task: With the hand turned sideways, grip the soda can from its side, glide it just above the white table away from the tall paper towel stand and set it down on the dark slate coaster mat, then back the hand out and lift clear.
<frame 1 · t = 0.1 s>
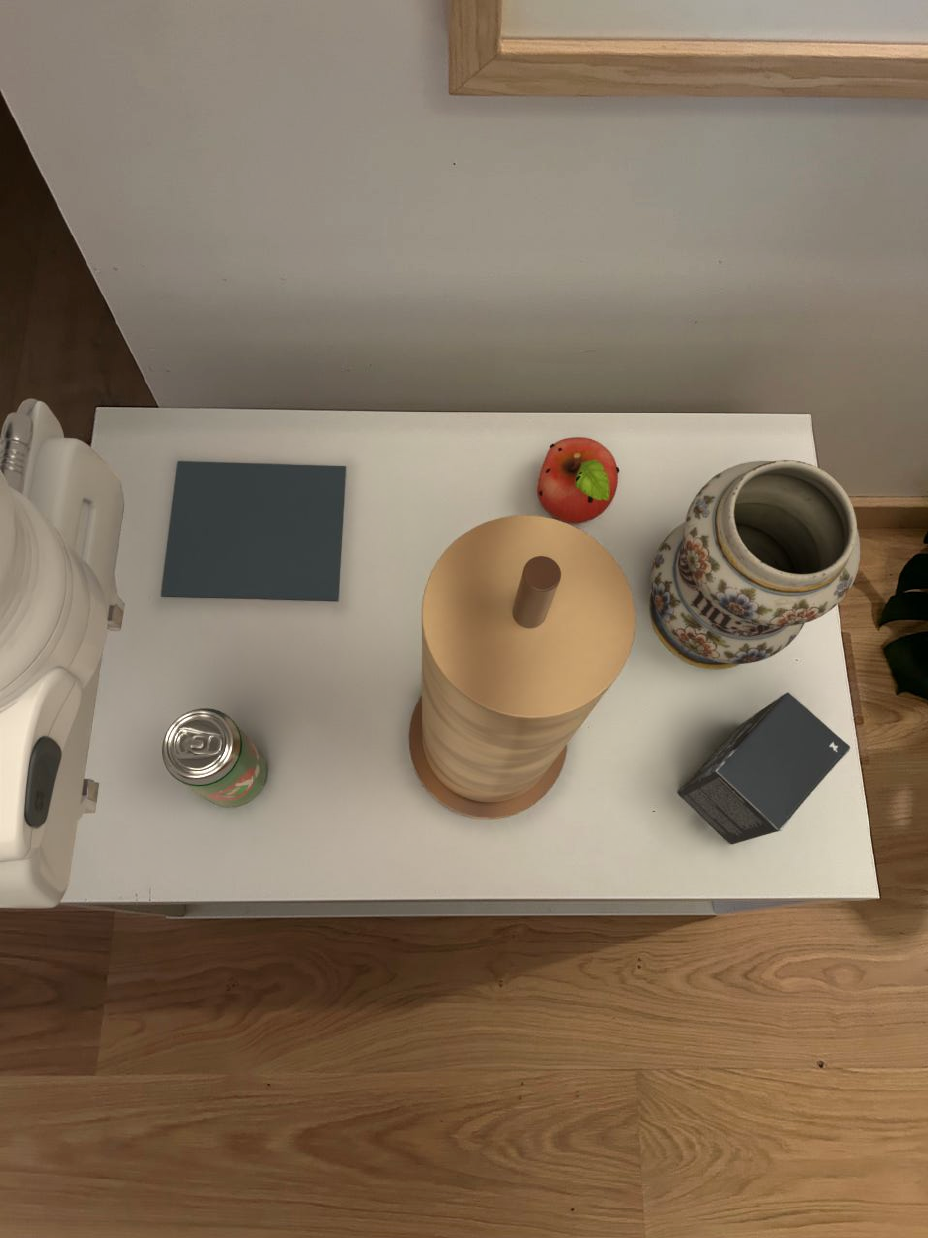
hand: (95, 705, 48), 24 cm above the table, tool pointing down, fingers open, 8 cm apart
soda can: (234, 775, 71), on the table
towel stand: (487, 740, 72), on the table
apothecary jar: (708, 611, 76), on the table
apple: (571, 507, 79), on the table
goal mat: (256, 530, 77), on the table
box: (734, 784, 72), on the table
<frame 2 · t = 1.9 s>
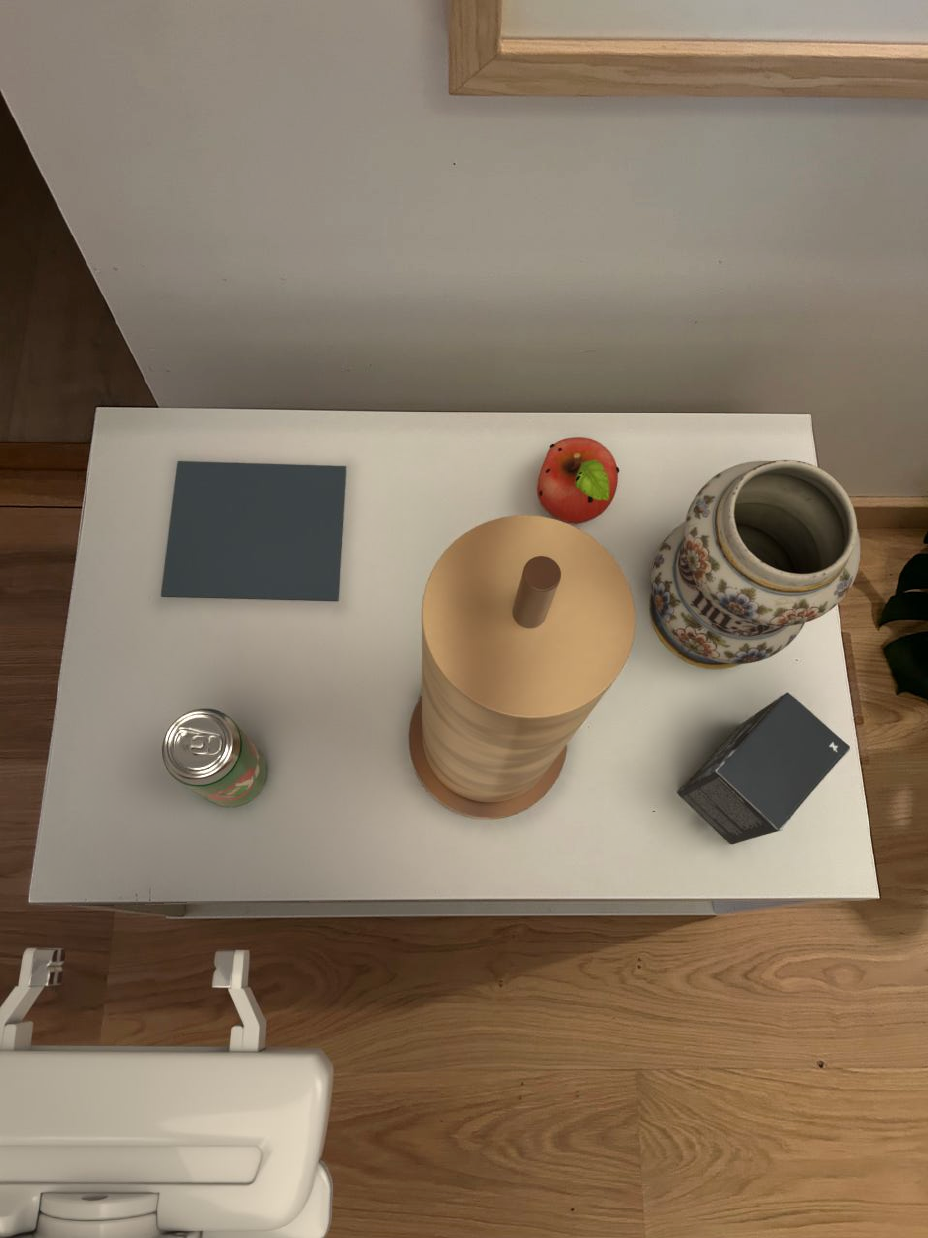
hand: (139, 948, 48), 20 cm above the table, tool horizontal, fingers open, 8 cm apart
nothing on the table moved.
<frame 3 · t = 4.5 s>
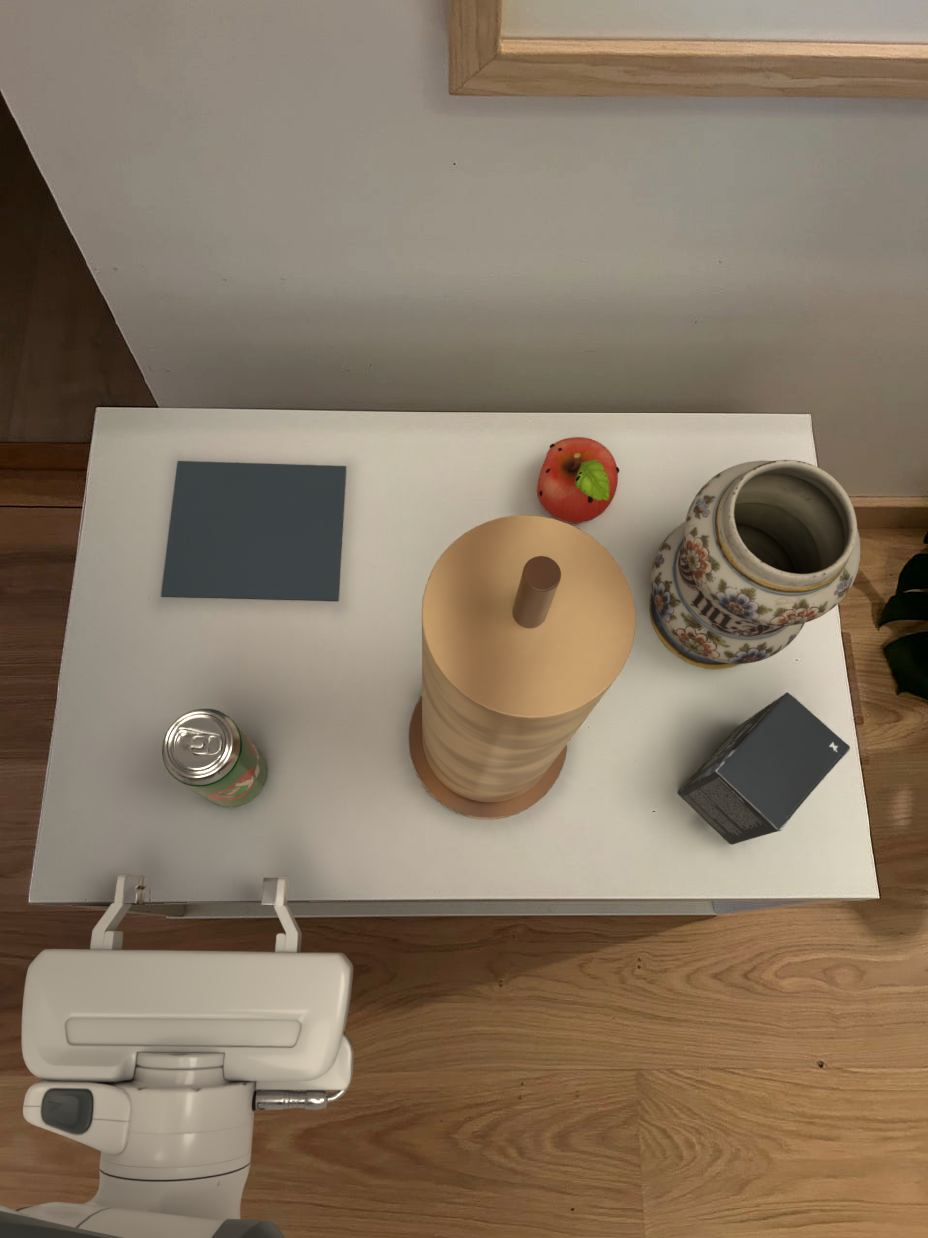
hand: (204, 876, 62), 6 cm above the table, tool horizontal, fingers open, 8 cm apart
nothing on the table moved.
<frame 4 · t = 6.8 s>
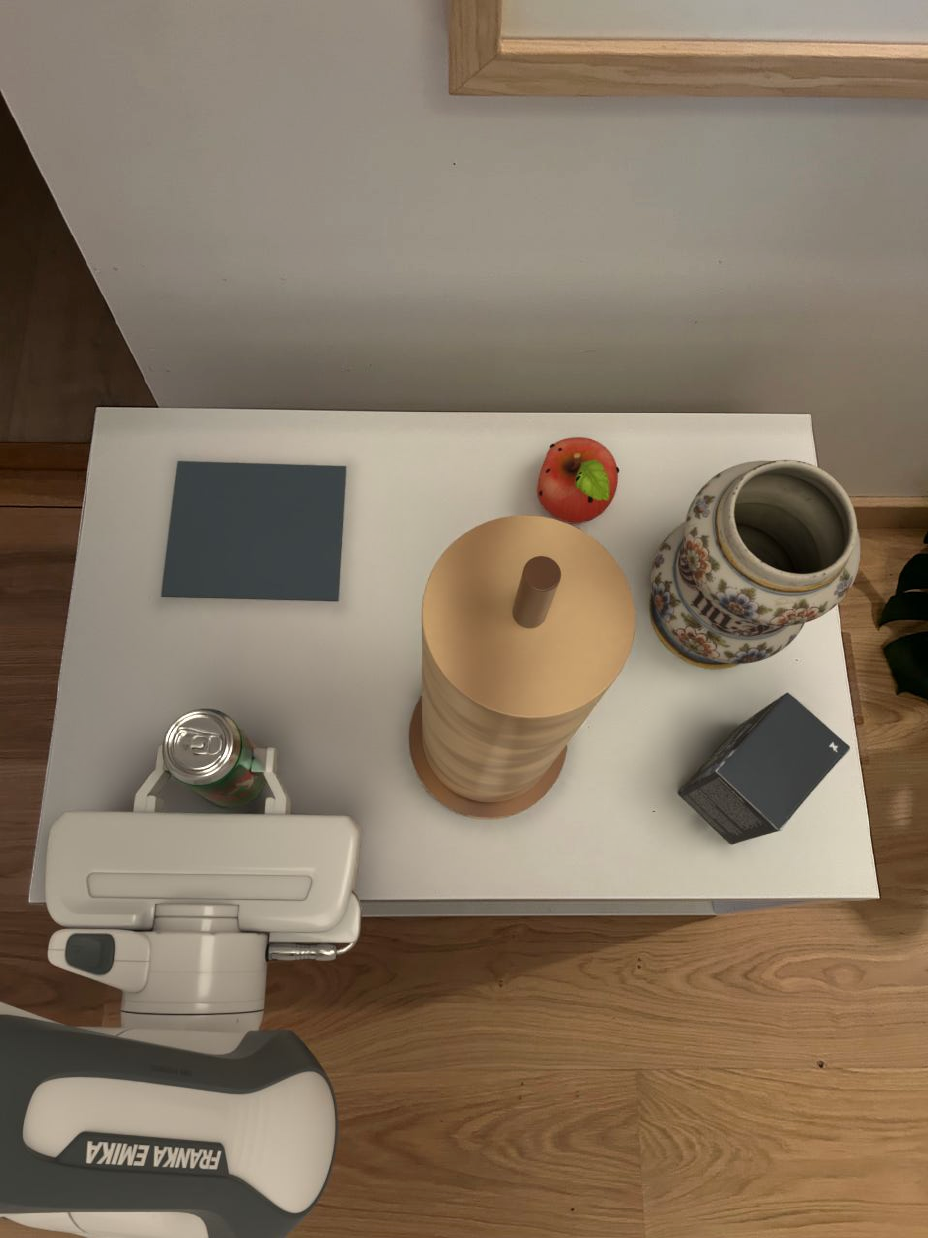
hand: (218, 747, 65), 6 cm above the table, tool horizontal, fingers closed on soda can, 5 cm apart
soda can: (234, 775, 71), on the table, touching gripper
everything else where it was.
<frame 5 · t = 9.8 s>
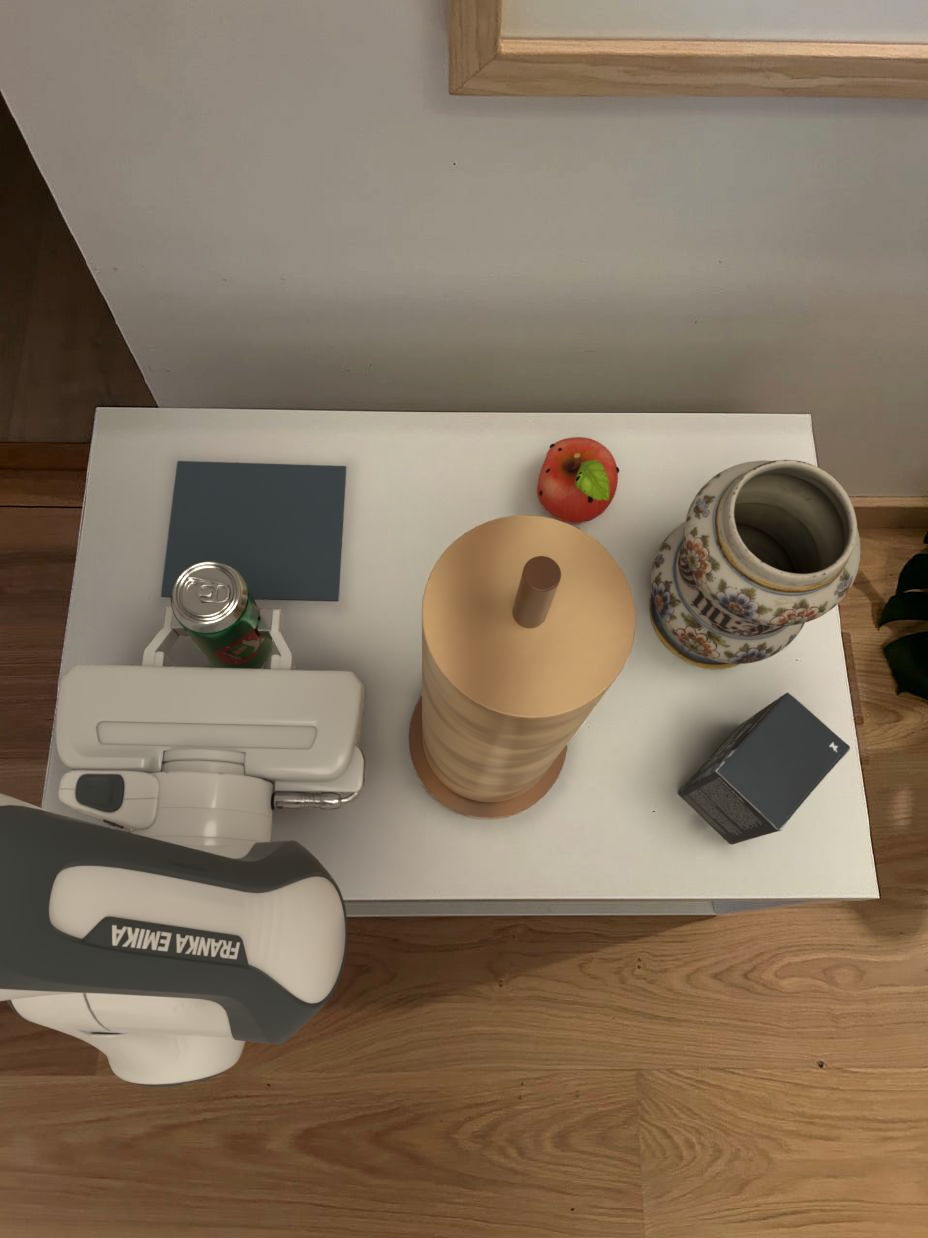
hand: (225, 609, 66), 8 cm above the table, tool horizontal, fingers closed on soda can, 5 cm apart
soda can: (240, 647, 72), point 2 cm above the table, touching gripper
everything else where it was.
when the fingers open (6 cm above the table, at t = 13.0 s): soda can stays where it is, resting on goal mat.
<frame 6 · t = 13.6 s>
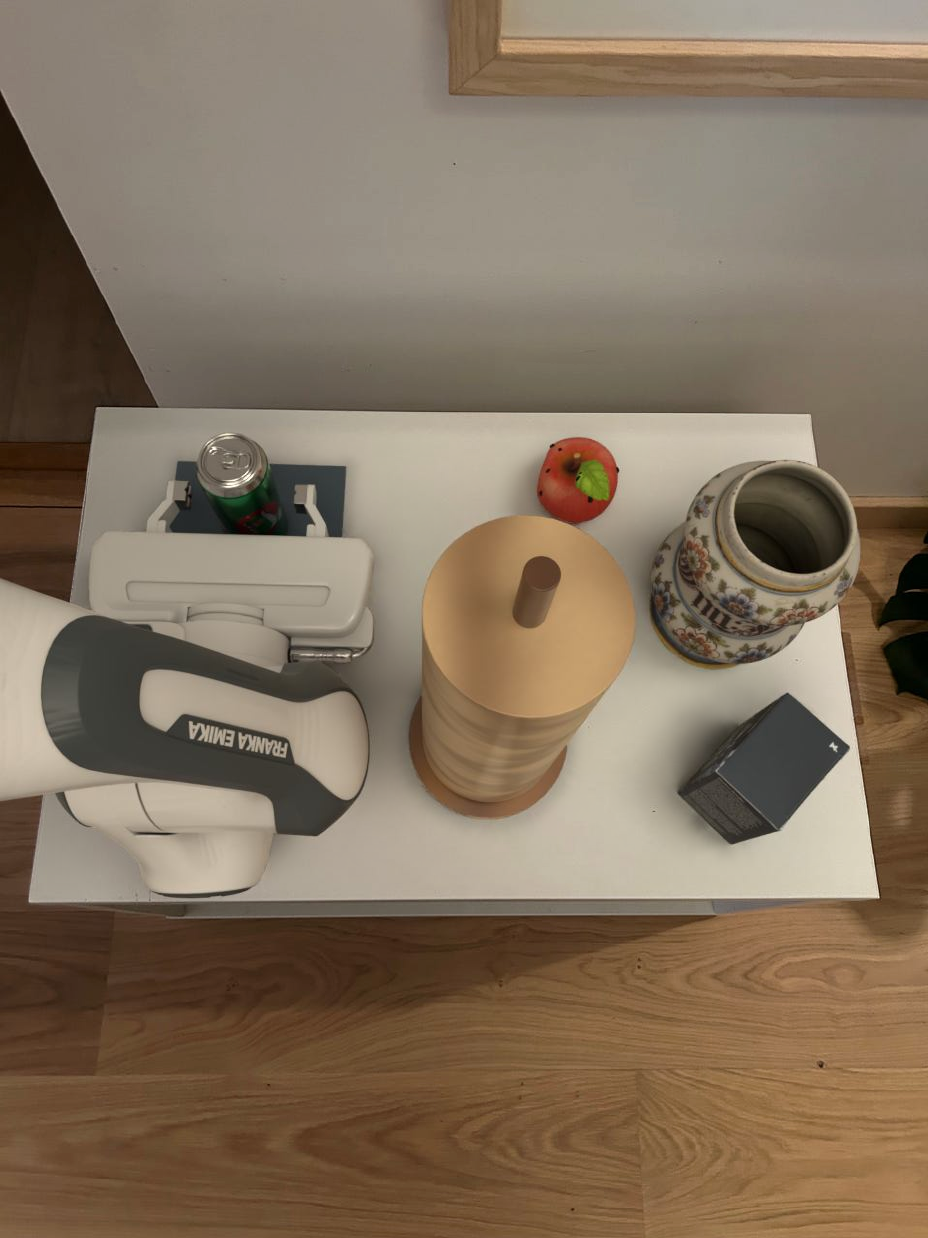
hand: (243, 485, 71), 6 cm above the table, tool horizontal, fingers open, 8 cm apart
soda can: (258, 531, 77), resting on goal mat
everything else where it was.
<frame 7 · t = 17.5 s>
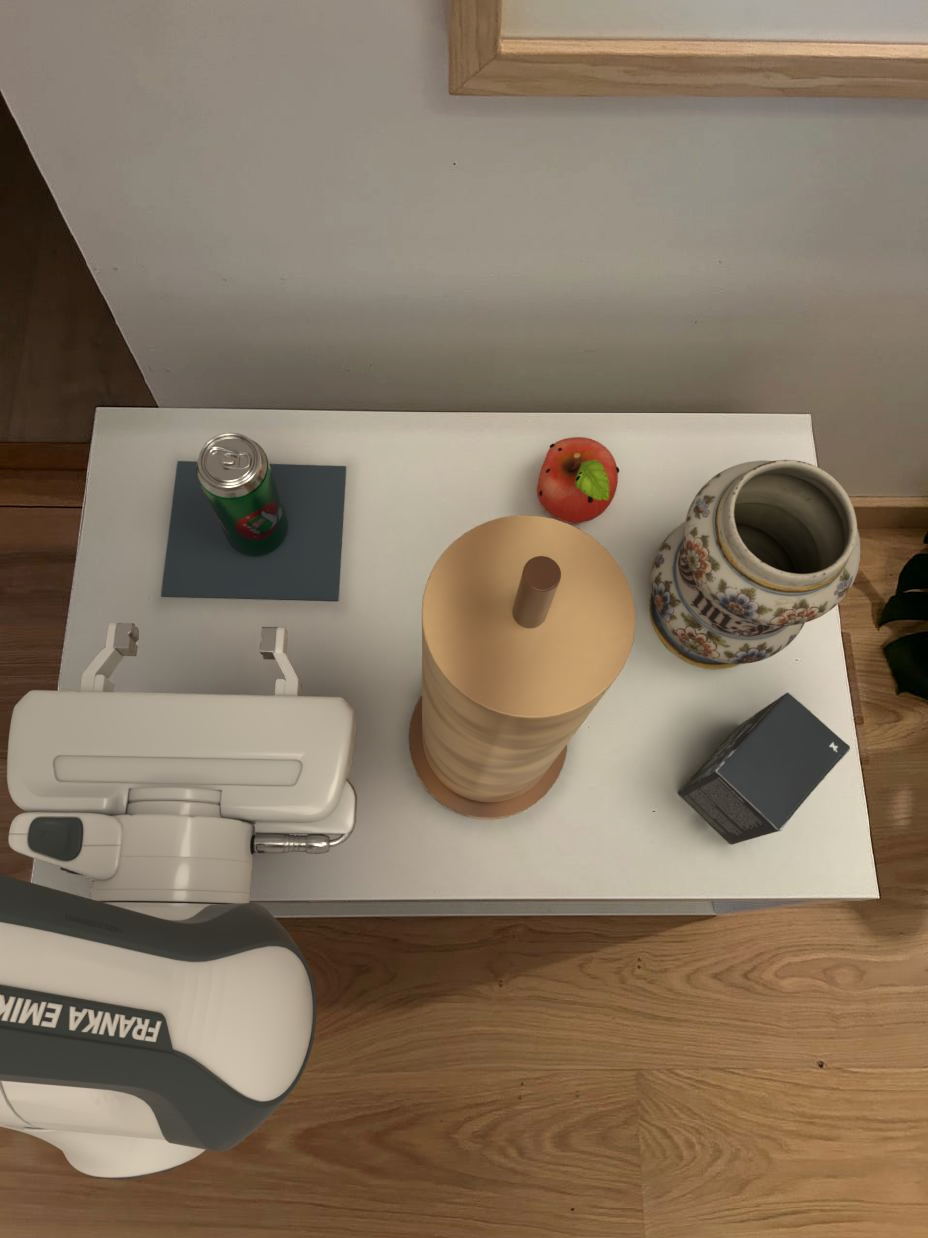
hand: (200, 627, 59), 14 cm above the table, tool horizontal, fingers open, 8 cm apart
nothing on the table moved.
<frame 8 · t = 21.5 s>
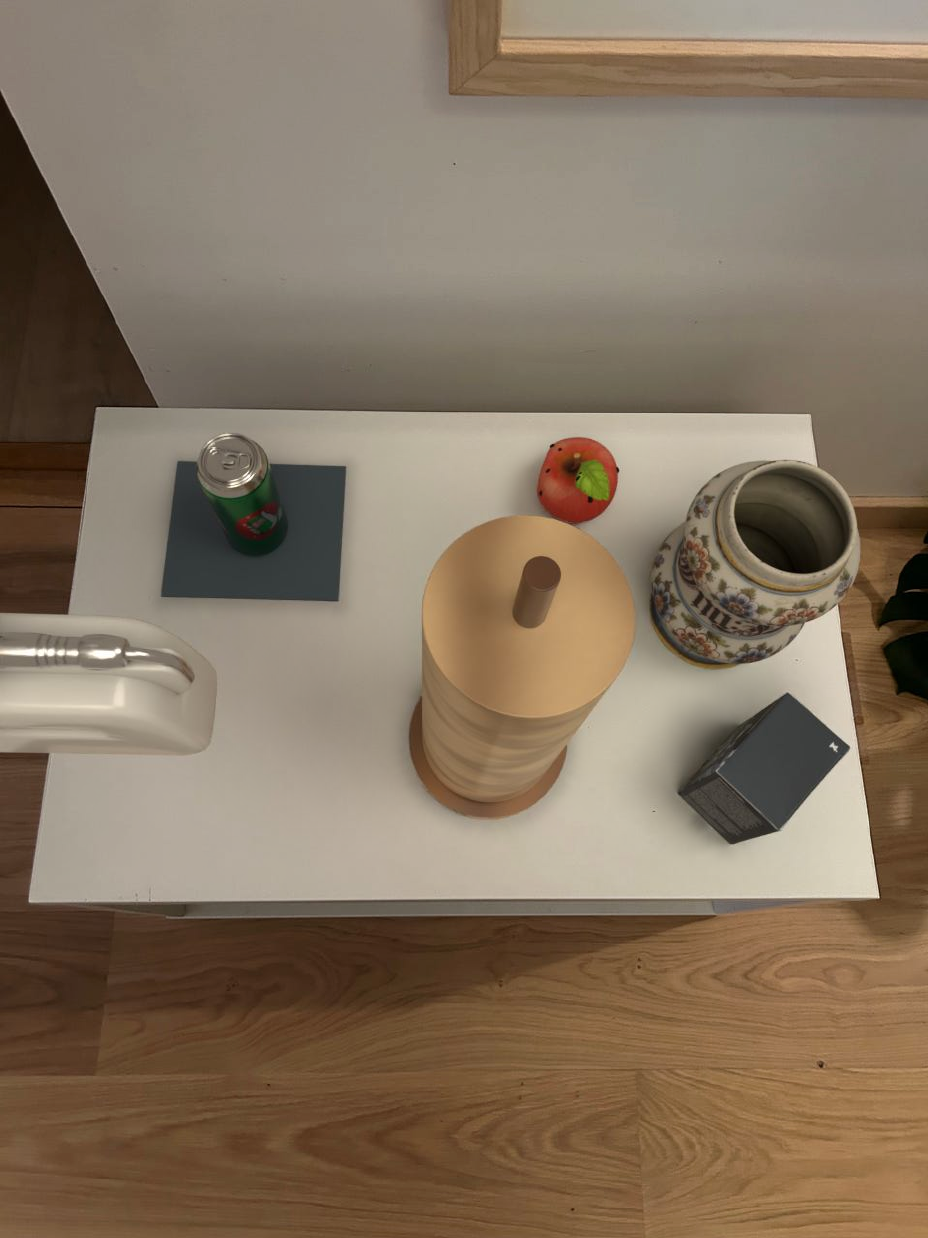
hand: (13, 733, 42), 29 cm above the table, tool pointing down, fingers open, 8 cm apart
nothing on the table moved.
at the end: soda can inside the target area on the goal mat (0.1 cm from its centre), point 0.0 cm above the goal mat's base; soda can tilted 0°; soda can touching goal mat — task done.
